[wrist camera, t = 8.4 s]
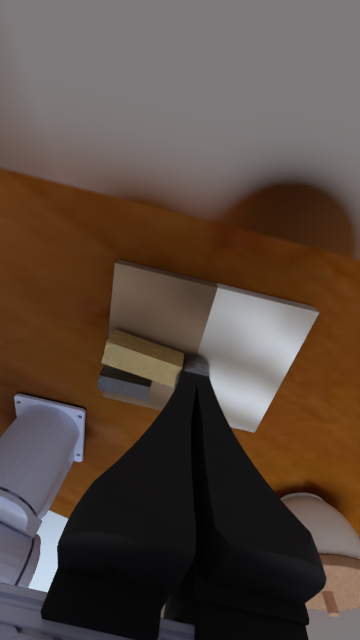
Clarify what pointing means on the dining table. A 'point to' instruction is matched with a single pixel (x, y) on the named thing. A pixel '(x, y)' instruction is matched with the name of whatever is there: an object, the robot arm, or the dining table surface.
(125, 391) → the keeper block
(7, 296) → the dining table surface
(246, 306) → the door edge board
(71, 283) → the dining table surface
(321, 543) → the lidded jar
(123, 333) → the bar
